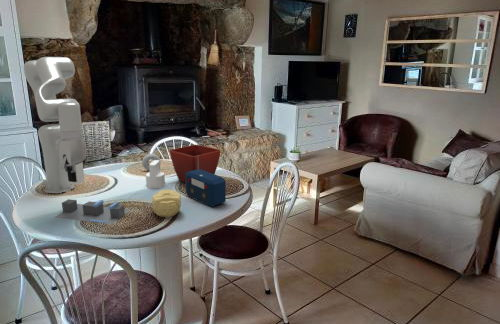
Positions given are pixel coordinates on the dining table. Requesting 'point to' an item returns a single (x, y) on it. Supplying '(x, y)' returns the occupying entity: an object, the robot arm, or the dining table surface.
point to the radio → (205, 187)
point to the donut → (146, 160)
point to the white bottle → (78, 173)
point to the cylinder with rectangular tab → (155, 176)
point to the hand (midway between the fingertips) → (76, 179)
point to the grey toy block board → (92, 211)
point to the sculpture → (166, 203)
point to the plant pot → (194, 159)
